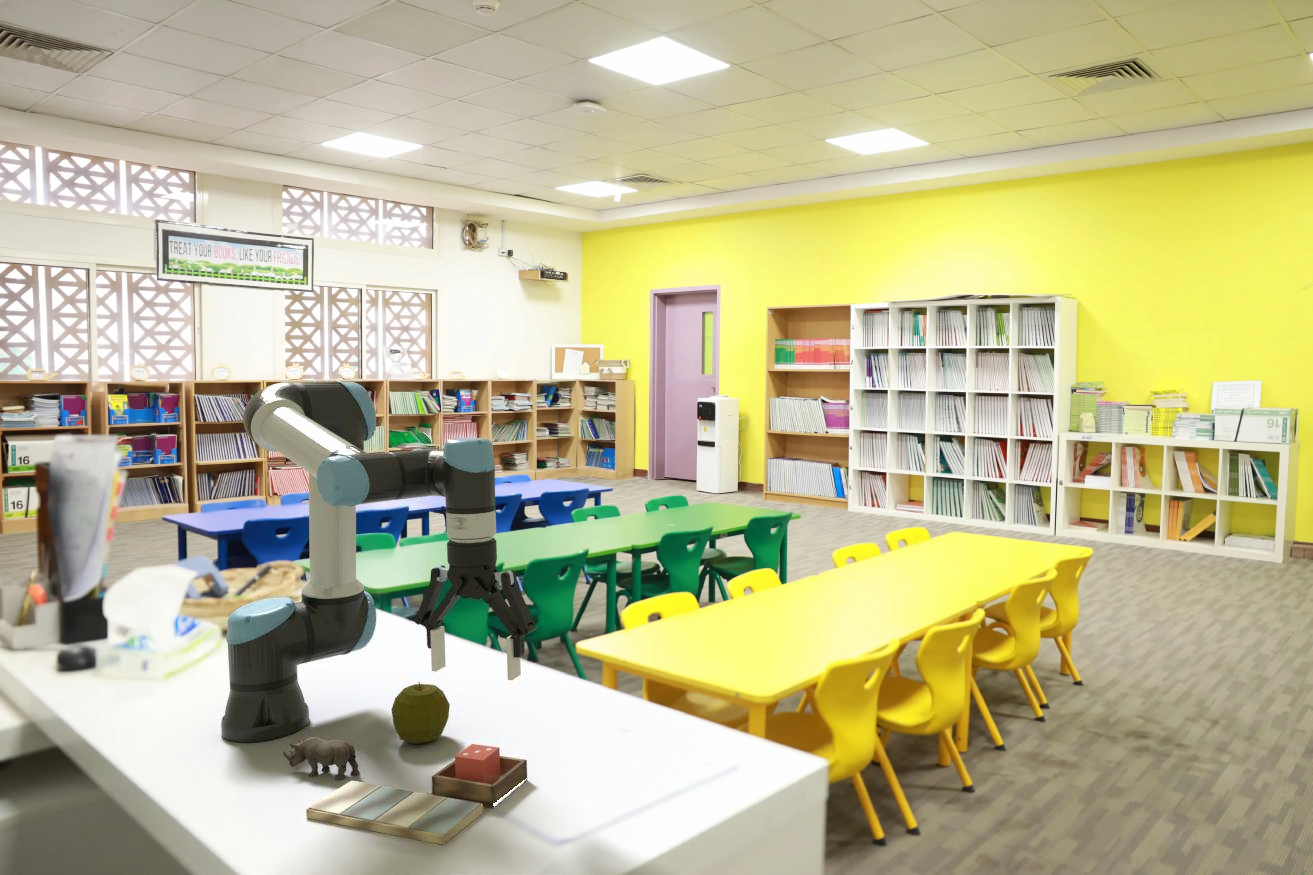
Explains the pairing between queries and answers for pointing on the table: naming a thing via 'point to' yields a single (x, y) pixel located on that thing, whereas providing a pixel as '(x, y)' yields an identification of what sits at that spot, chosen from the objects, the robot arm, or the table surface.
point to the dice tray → (478, 792)
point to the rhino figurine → (324, 755)
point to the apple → (420, 713)
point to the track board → (396, 811)
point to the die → (478, 764)
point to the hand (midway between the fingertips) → (475, 673)
